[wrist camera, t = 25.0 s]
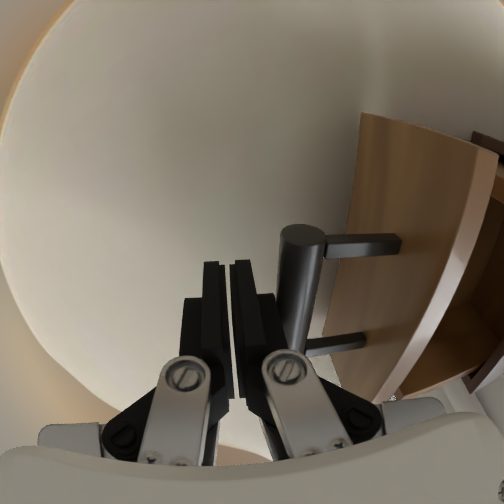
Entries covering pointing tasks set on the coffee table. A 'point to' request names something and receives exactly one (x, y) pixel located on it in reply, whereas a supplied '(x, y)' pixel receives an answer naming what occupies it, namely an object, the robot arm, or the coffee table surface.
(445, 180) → the drawer
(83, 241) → the coffee table surface
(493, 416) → the vase
